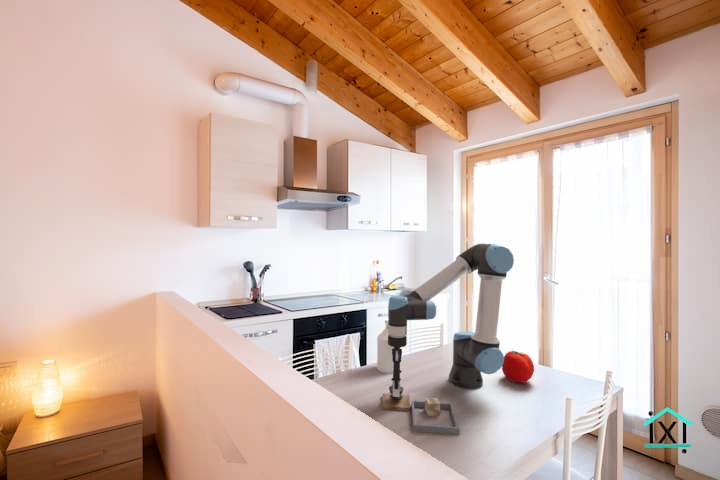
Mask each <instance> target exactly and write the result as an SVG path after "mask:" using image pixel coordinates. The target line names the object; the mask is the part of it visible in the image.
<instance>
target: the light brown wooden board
mask: <svg viewBox="0 0 720 480" xmlns="http://www.w3.org/2000/svg"><path fill="white" fill-rule="evenodd" d="M390 395H392V394H391V393H382V399H381V410H386V411H387V410H389V411H400V412H401V411H403V412H405V411H406V412H411V401H410V395H409V394H401V396H402V397H403V398H402V399H401V400H392V399H390V397H389V396H390Z"/></svg>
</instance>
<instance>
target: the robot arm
mask: <svg viewBox="0 0 720 480" xmlns="http://www.w3.org/2000/svg"><path fill="white" fill-rule="evenodd" d="M514 262H515V258H514V254H513V252H512V251H511V250H510V248H509V247H508V246H505V245H503V244H498V243H477V244H474V245H473V246H471V247H469V248H467V249H466V250H465V251H463V252H462V253H460V254H459V255H457V256H456V257H455V260H454V261H453V262H451V263H450V264H448V265H447V266H446V267H445V268H443V269H442V270H440V271H439V272H437V273H436V274H435V275H434V276H432V277H431V278H430V279H428V280H426V281H425V282H423V284H421V285H419V286H418V287H417V288H415V289H414V290H413V291H411V292H409V293H406V294H405V293H404V294H402V295H393V296H390V297H389V299H388V307H387V309H388V310H387V311H388V315H387V316H388V317H387V319H388V326H387V329H388V334H389V335H388V345H389V346H391V347H394V348H392V355H393V360H392V361H393V362H394V367H393V368H394V370H393V371H394V372H393V373H392V378H393V379H392V378H390V379H391V381H392V384H393V397H400V386H401V380H400V379H401V373H402V370H401V363H402V355H403V348H405V347H406V346H407V343H408V342H407V338H408V337H407V336H408V321H422V320H423V321H425V320H426V321H427V320H433V319H435V318H436V316H437V306H436V303H435V302H434V301H432V299H433V298H435V297H436V296H437V295H439V294H441V292H443V291H445V290H446V289H447V288H448V287H450V286H452V285H453V284H454V283H456V282H457V281H458V280H459V279H461V278H463V276H465V275H466V274H467V275H471V274H472V273H473V272H475V271H477V275H478V276H479V278H480V283H479V293H478V303H477V313H476V320H475V321H476V322H475V331H457V332H455V333H454V334H453V339H452V342H453V343H452V344H453V345H452V346H453V349H452V350H453V351H452V366H451V369H450V371H449V374H448V382H449V383H450V384H451V385H453V386H455V387H458V388H462V389H469V390H471V389H473V390H474V389H480V388H481V387H483V382H484V380H483V375H482V374H486V375H493V374H495V373H497V372H498V371H500V369H502V365H503V362H504V356H505V355H504V354H503V352H502V350H500V346H501V344H500V343H501V341H500V339H499V338H498V337H497V334H498V323H499V315H500V306H501V305H500V304H501V295H502V294H501V293H502V285H503V283H502V282H503V280H505V279H506V278H507V276H508V275H507V274H508V272H509V271H511V270H512V269H513V266H514ZM400 347H401V348H400Z"/></svg>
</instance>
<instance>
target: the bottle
mask: <svg viewBox="0 0 720 480" xmlns="http://www.w3.org/2000/svg"><path fill="white" fill-rule="evenodd" d="M384 323H385V328H384V329H383V330H382V331H381V332H380V333H379V334H378V335H377V339H376V340H377V341H376V343H377V346H376V347H377V349H376V350H377V352H376V353H377V359H376V361H377V365H376V366H377V367H376V369H377V370H378V371H379V372H380V373H384V374H393V370H394V368H393V367H394V362H393V361H392V360H393V355H392V348H394V347H391V346H389V345H388V335H389V334H388V329H387V326H388V318H385V319H384ZM400 349H402V347H400Z"/></svg>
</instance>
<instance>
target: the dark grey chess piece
mask: <svg viewBox="0 0 720 480" xmlns="http://www.w3.org/2000/svg"><path fill="white" fill-rule="evenodd" d="M393 372H394V371H393ZM391 379H393V377H392V378H391ZM401 380H402V379H401V378H400V381H401ZM388 390H389V394H392V395H390V396H389V397H390V399H392V400H401V399H402V398H403V397H402V396H401V395H403V394H402V393H403V391H404V387H403V386H401V385H400V397H393V383H392V384H391V385H390V386H389V387H388Z"/></svg>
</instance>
